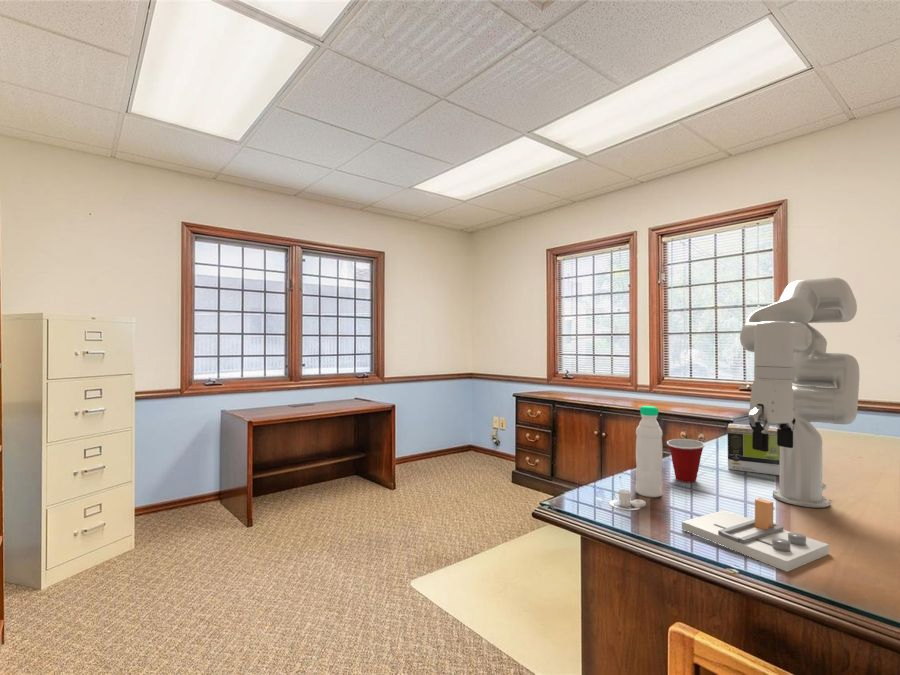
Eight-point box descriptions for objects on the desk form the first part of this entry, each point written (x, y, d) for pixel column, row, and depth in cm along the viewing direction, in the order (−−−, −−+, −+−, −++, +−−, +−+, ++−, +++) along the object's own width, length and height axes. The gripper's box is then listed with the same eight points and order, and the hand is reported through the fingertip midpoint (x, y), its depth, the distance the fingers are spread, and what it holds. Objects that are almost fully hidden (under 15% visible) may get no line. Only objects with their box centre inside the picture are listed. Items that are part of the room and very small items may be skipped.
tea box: (779, 469, 161) (779, 426, 161) (780, 476, 152) (780, 431, 152) (728, 463, 169) (728, 422, 169) (727, 469, 160) (727, 426, 161)
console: (723, 518, 116) (723, 504, 116) (828, 554, 97) (828, 537, 97) (681, 530, 108) (681, 515, 109) (787, 571, 89) (787, 553, 89)
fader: (759, 524, 107) (759, 498, 107) (773, 529, 104) (773, 502, 104) (754, 526, 106) (754, 499, 106) (768, 530, 103) (768, 503, 103)
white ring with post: (648, 507, 125) (648, 491, 125) (637, 515, 119) (637, 499, 119) (616, 499, 131) (616, 484, 131) (604, 506, 125) (604, 491, 125)
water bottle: (665, 499, 130) (665, 408, 130) (638, 497, 131) (638, 407, 131) (659, 491, 137) (659, 405, 137) (633, 489, 138) (633, 404, 138)
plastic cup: (659, 477, 150) (659, 440, 150) (680, 473, 155) (680, 437, 156) (690, 487, 141) (691, 447, 141) (712, 482, 146) (712, 443, 146)
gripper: (777, 373, 116) (777, 442, 116) (734, 373, 108) (733, 448, 108) (812, 375, 109) (811, 448, 109) (768, 376, 101) (768, 455, 101)
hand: (772, 448), depth 108 cm, fingers open, 9 cm apart
